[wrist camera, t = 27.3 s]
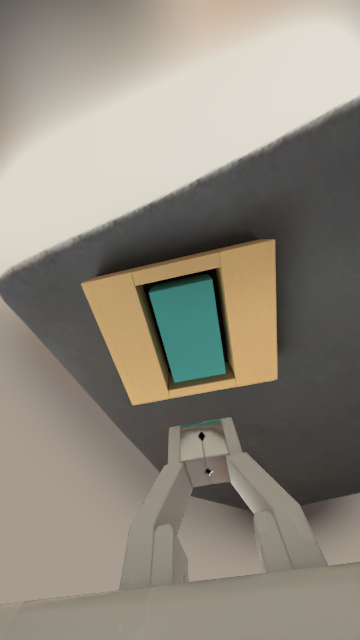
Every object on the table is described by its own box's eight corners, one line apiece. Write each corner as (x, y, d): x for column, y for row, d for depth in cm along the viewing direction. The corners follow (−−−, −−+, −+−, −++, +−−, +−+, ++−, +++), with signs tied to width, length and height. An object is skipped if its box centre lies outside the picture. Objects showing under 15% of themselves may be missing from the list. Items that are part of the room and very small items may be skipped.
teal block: (207, 273, 18) (212, 278, 16) (220, 357, 22) (226, 373, 20) (152, 284, 19) (148, 292, 16) (174, 365, 23) (174, 383, 20)
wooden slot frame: (259, 239, 17) (275, 239, 15) (265, 362, 23) (277, 379, 20) (94, 277, 18) (80, 283, 16) (137, 386, 24) (132, 405, 21)
